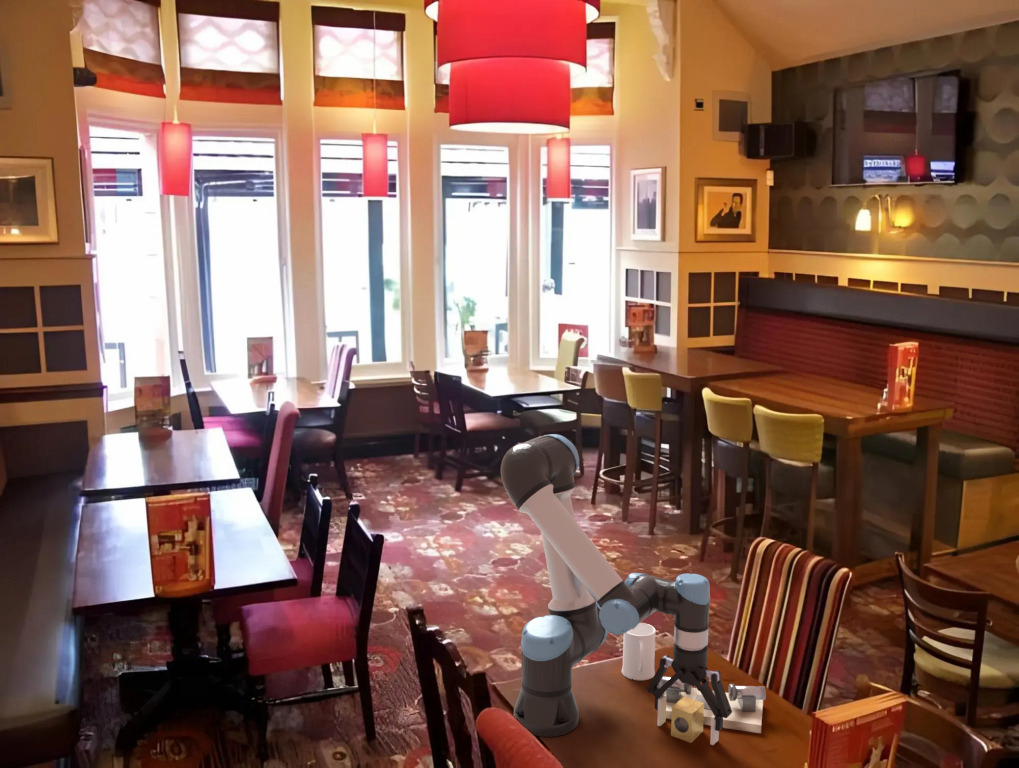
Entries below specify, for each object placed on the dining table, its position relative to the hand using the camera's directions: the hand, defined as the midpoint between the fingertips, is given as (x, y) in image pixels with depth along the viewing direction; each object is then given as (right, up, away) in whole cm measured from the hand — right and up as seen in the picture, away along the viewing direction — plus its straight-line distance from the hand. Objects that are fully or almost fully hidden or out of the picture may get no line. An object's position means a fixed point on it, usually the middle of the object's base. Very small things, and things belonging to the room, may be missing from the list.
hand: (687, 732), depth 209 cm
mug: (-7, +4, +27) cm, 28 cm away
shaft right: (+15, +3, +8) cm, 18 cm away
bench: (+8, +1, +10) cm, 12 cm away
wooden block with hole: (0, 0, 0) cm, 0 cm away
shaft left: (-1, +4, +12) cm, 13 cm away
